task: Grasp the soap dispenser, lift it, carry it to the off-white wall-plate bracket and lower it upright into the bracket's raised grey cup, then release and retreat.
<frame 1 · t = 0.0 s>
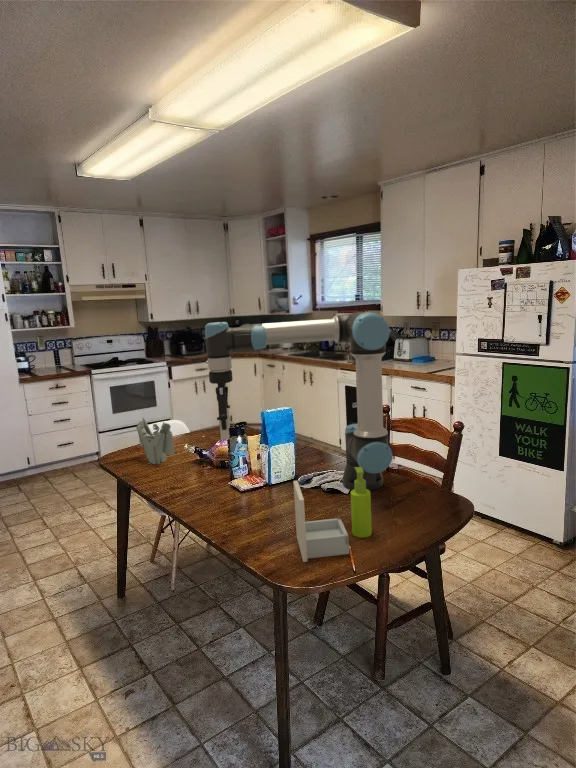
hand: (225, 433, 163), 28 cm above the table, fingers open, 13 cm apart
grey pronged sculpture: (157, 462, 225), on the table
soap dispenser: (361, 532, 148), on the table
cup bracket: (322, 546, 141), on the table
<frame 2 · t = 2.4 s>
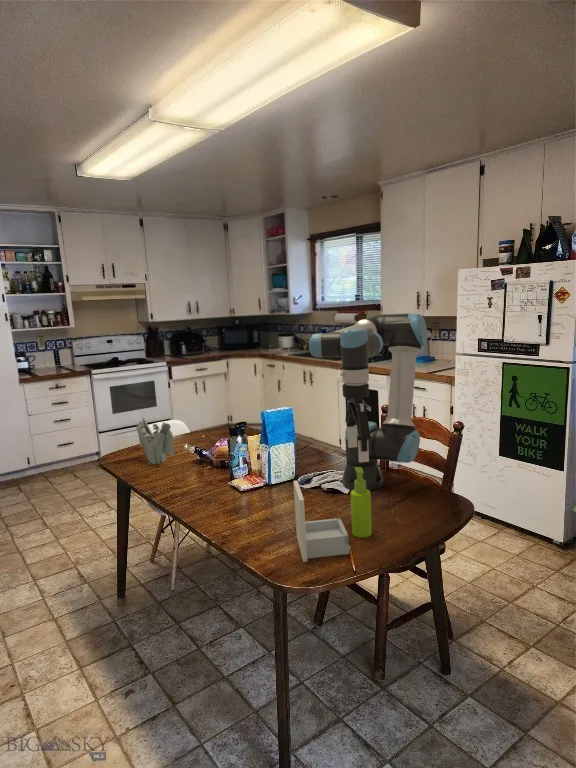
hand: (358, 454, 144), 25 cm above the table, fingers open, 13 cm apart
nothing on the table moved.
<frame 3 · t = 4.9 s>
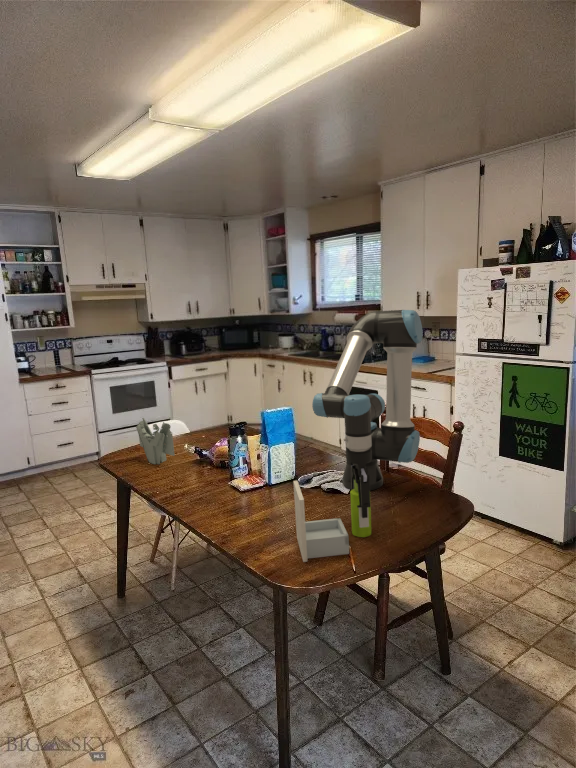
hand: (361, 521, 147), 4 cm above the table, fingers closed on soap dispenser, 6 cm apart
soap dispenser: (361, 532, 148), on the table, touching gripper
everything else where it was.
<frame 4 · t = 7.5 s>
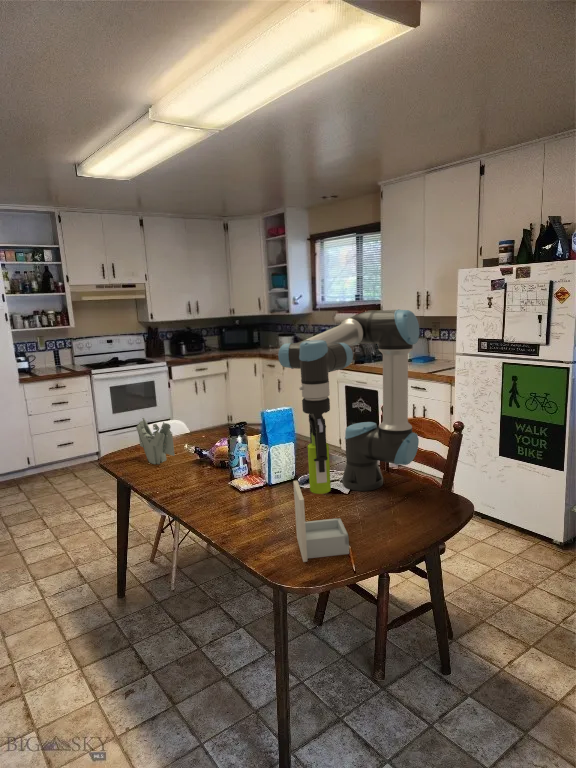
hand: (319, 477, 137), 21 cm above the table, fingers closed on soap dispenser, 6 cm apart
soap dispenser: (320, 489, 138), point 17 cm above the table, touching gripper
everything else where it was.
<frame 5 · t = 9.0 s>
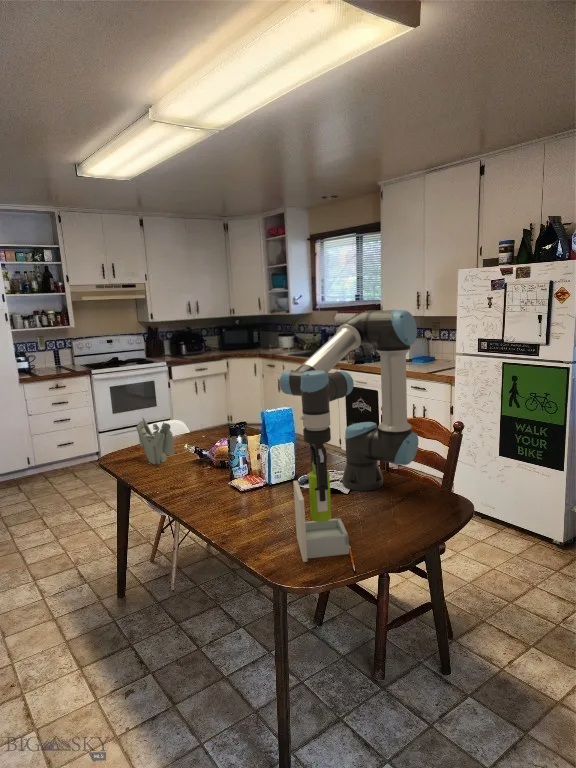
hand: (320, 505, 139), 13 cm above the table, fingers closed on soap dispenser, 6 cm apart
soap dispenser: (320, 517, 140), point 9 cm above the table, touching gripper
everything else where it was.
when the fingers open (8 cm above the table, at t = 10.3 s): soap dispenser drops 1 cm, resting on cup bracket.
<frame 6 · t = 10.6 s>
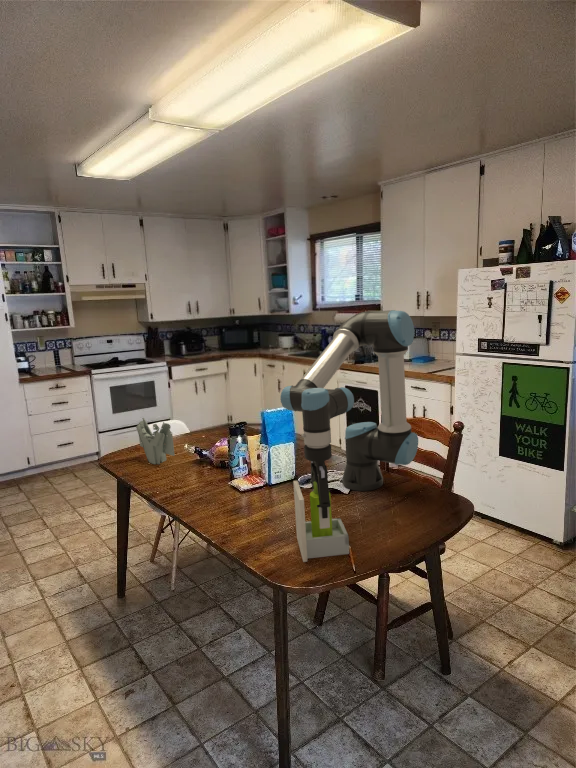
hand: (321, 518, 139), 9 cm above the table, fingers open, 10 cm apart
soap dispenser: (322, 536, 141), point 3 cm above the table, touching cup bracket
everything else where it was.
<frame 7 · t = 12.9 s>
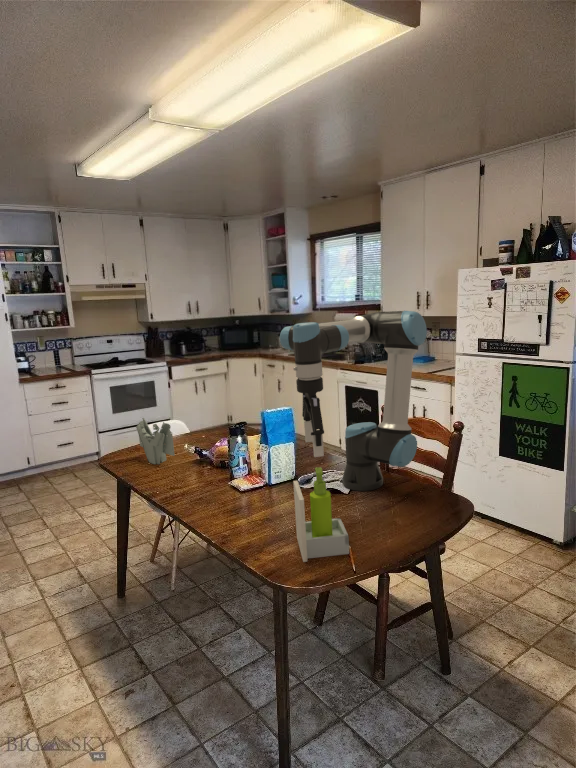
hand: (314, 448, 143), 27 cm above the table, fingers open, 13 cm apart
nothing on the table moved.
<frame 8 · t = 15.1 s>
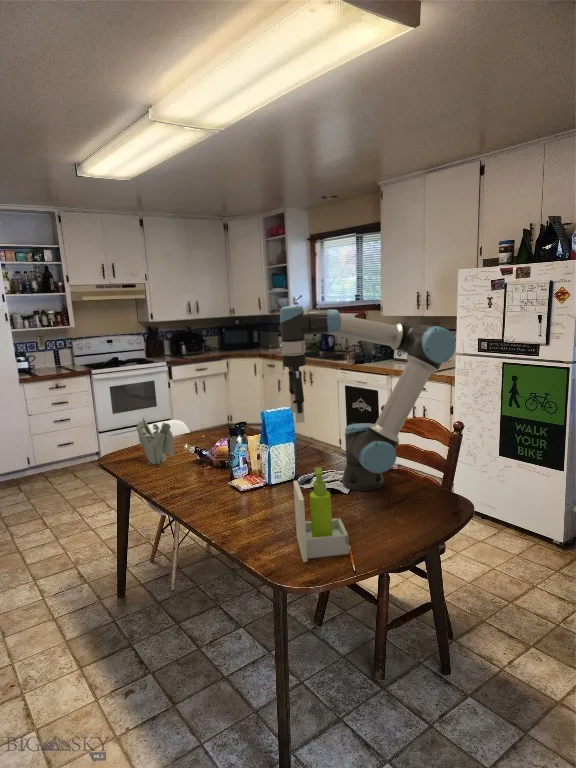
hand: (297, 417, 163), 32 cm above the table, fingers open, 13 cm apart
nothing on the table moved.
at the end: soap dispenser inside the target area on the cup bracket (0.6 cm from its centre), point 2.8 cm above the cup bracket's base; soap dispenser tilted 0°; the gripper is holding nothing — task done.
